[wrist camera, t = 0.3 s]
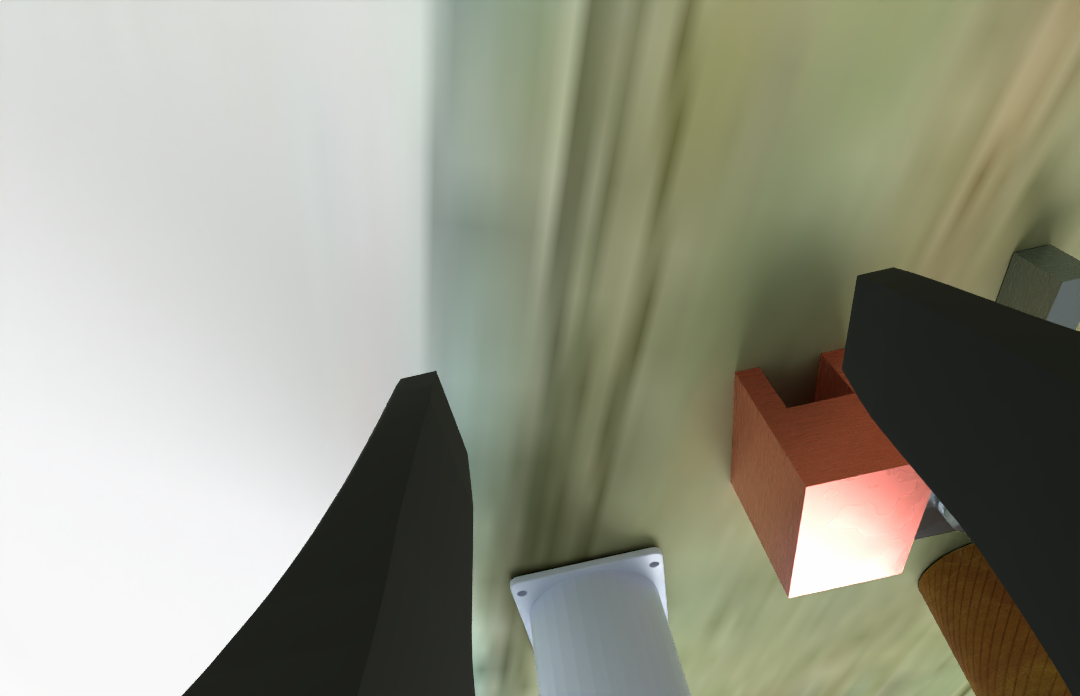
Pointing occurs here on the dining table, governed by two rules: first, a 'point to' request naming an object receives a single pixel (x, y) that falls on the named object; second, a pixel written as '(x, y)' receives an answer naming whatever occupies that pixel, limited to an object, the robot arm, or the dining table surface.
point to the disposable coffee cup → (987, 629)
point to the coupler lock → (822, 483)
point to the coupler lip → (1042, 291)
